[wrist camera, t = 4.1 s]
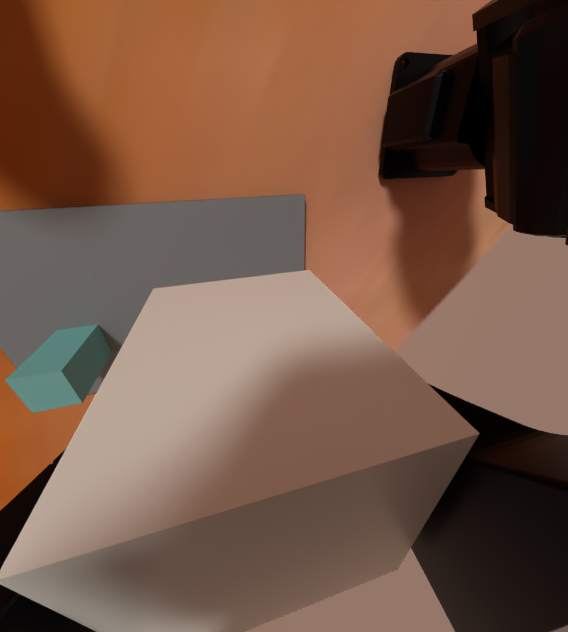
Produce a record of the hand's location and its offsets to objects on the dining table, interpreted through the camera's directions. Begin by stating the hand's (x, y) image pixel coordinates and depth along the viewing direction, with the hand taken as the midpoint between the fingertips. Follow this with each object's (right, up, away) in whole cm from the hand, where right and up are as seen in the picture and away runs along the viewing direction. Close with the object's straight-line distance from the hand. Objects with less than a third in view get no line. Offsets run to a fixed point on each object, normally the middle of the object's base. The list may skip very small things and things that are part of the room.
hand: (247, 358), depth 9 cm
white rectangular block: (0, +1, +1) cm, 1 cm away
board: (-8, +2, +10) cm, 13 cm away
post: (-14, 0, +10) cm, 17 cm away
